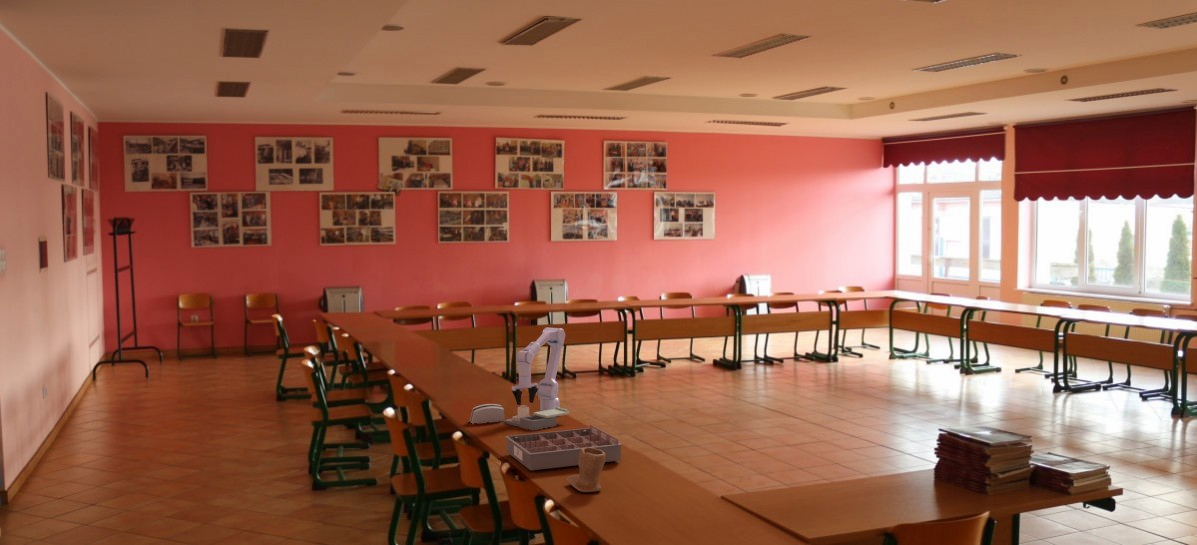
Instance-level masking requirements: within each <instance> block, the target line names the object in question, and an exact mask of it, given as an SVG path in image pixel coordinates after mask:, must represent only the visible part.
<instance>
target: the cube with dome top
mask: <svg viewBox="0 0 1197 545" xmlns="http://www.w3.org/2000/svg"><path fill="white" fill-rule="evenodd" d="M529 415H530V406H527V405H526V404H523V405H522V404H521V405H519V406H518V407H517V416H518V418H522V417H527V416H529Z"/></svg>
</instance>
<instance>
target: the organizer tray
mask: <svg viewBox="0 0 1197 545" xmlns="http://www.w3.org/2000/svg"><path fill="white" fill-rule="evenodd" d="M504 438H505V439H506V453H508V454H509V455H510V456H512V457H513V458H514V459H515V460H516V461H517V462H519V463H520V464H521V465H523V466H524V467H525V468H527V469H528V470H529V471H536V470H537V471H538V470H545V469H546V470H547V469H555V468H563V467H572V466H579V453H580V451H581V449H582V448H584V447H591V448H596V449H599V450H602V451H603V452H604V453H605V463H606V462H607V463H609V462H615V461H616V462H617V461H618V462H619V461H621V457H622V456H621V455H622V454H621V453H622V452H621V451H622V447H621V446H623V443H622V442H620V441H619V439H618V438H617V437H615V436H613V435H612V434H610V433H607V432H606V431H604V430H603V429H600V428H598V427H597V426H594V425H593V424H591V423H589V427H587V428H577V429H566V430H565V429H564V430H556V431H545V432H535V433H525V434H515V435H506V436H504Z"/></svg>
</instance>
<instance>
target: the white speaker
mask: <svg viewBox="0 0 1197 545" xmlns="http://www.w3.org/2000/svg"><path fill="white" fill-rule="evenodd" d="M471 410H472V411H471V414H470V418H469V423H470V424H471V423H472V424H471V425H475V424H474V423H477V424H486V423H487V422H489V423H497V422H498V423H499V421H500V422H505V410H504V406H502V405H501V404H495V403H487V404H486V403H485V404H480V405H478V406H477V405H476V406H475V407H472V409H471Z"/></svg>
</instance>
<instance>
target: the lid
mask: <svg viewBox="0 0 1197 545" xmlns="http://www.w3.org/2000/svg"><path fill="white" fill-rule="evenodd" d="M532 414H533V415H536V416H540V417H544V419H545V418H550V417H560V415H561V416H565V415H569V414H570V411H569V410H568V409H567V408H561V407H560V408H558V407H556V409H551V410H545V411H540V410H539V411H535V412H533V413H532ZM533 415H532V416H533Z"/></svg>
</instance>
